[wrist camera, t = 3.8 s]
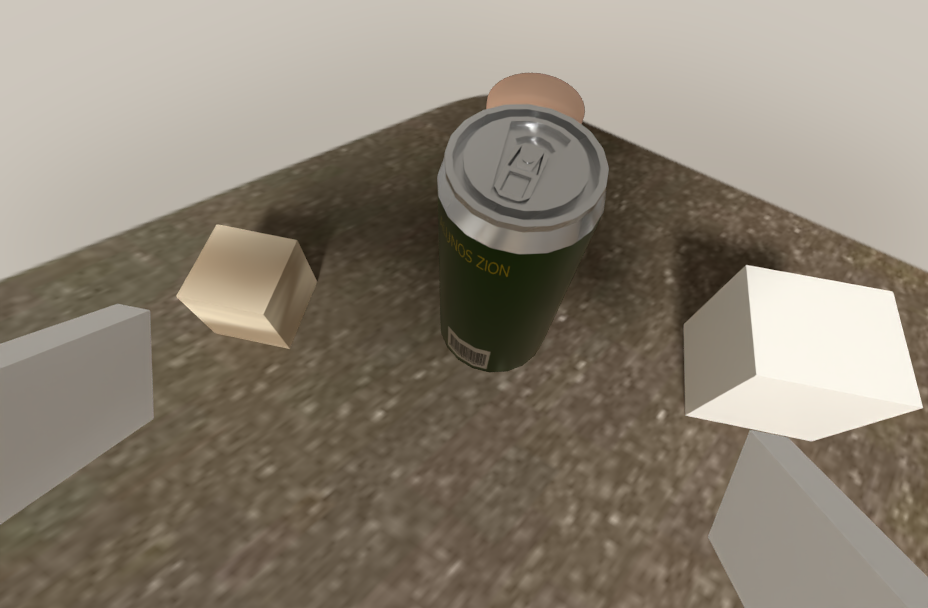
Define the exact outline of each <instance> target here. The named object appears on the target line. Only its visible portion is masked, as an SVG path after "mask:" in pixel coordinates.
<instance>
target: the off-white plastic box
mask: <svg viewBox="0 0 928 608" xmlns="http://www.w3.org/2000/svg"><path fill="white" fill-rule="evenodd" d="M684 374H685V415H686V416H691V417H696V418H701V419H706V420H711V421H715V422H720V423H725V424H730V425H735V426H740V427H745V428H750V429H754V430H759V431H764V432H769V433H774V434H779V435H784V436H789V437H793V438H798V439H803V440H808V441H814V440H817V439H821V438H824V437H827V436H831V435H834V434H838V433H841V432H844V431H848V430H851V429H854V428H858V427H861V426H864V425H868V424H871V423H874V422H878V421H881V420H884V419H888V418H891V417H894V416H898V415H901V414H905V413H908V412H911V411H915V410H918V409H921V408H923V406H922V402H921V399H920V395H919V391H918V387H917V383H916V379H915V375H914V371H913V368H912V364H911V360H910V356H909V352H908V348H907V344H906V341H905V337H904V333H903V329H902V325H901V321H900V317H899V313H898V310H897V306H896V302H895V298H894V294H893V292H891V291H886V290H881V289H875V288H870V287H864V286H859V285H853V284H848V283H842V282H837V281H831V280H826V279H820V278H815V277H810V276H804V275H799V274H793V273H788V272H782V271H777V270H771V269H766V268H760V267H755V266H749V265H745V266H744V267H743V268H742V269H741V270H740V271H739V272H738V273H737V274H736V275H735V276H734V277H733V278H732V279H731V280H730V281H729V282H728V283H727V284H726V285H724V286H723V287H722V288H721V289H720V290H719V291H718V292H717V293H716V294H715V295H714V296H713V297H712V298H711V299H710V300H709V301H708V302H707V303H706V304H705V305H703V306H702V307H701V308H700V309H699V310H698V311H697V312H696V313H695V314H694V315H693V316H692V317H691V318H690V319H689V320H688V321H687V322H686V323H685V324H684Z"/></svg>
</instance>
